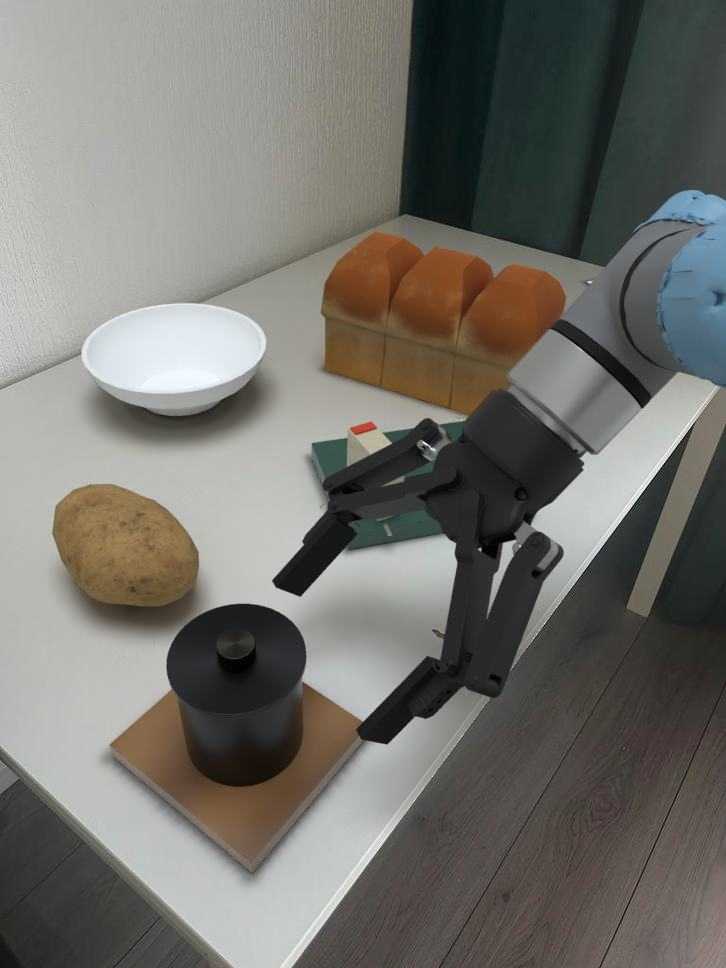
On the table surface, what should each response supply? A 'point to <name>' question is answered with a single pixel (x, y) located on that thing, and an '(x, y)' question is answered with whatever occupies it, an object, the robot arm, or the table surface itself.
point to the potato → (124, 546)
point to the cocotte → (239, 692)
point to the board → (239, 810)
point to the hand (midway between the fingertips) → (324, 657)
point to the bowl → (175, 356)
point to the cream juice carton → (366, 446)
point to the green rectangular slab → (396, 528)
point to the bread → (433, 320)
